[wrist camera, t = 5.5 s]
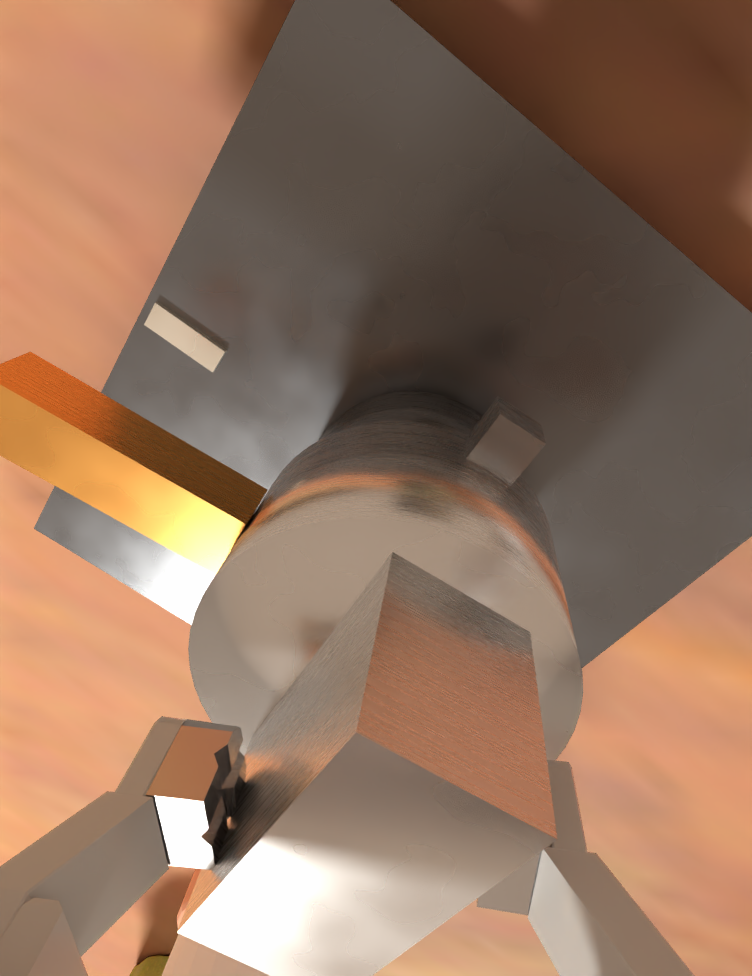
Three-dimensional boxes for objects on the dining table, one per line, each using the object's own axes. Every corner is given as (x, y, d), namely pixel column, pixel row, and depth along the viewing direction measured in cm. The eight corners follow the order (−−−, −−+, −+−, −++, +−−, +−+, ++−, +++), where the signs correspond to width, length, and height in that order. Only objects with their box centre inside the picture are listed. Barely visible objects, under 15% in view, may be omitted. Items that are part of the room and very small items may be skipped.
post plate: (335, -38, 15) (282, -122, 11) (857, 411, 18) (979, 487, 14) (57, 508, 24) (-35, 584, 20) (442, 748, 27) (437, 859, 23)
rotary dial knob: (655, 495, 15) (852, 842, 7) (421, 733, 20) (389, 1095, 12) (129, 158, 13) (-361, 144, 5) (11, 511, 18) (-339, 772, 10)
